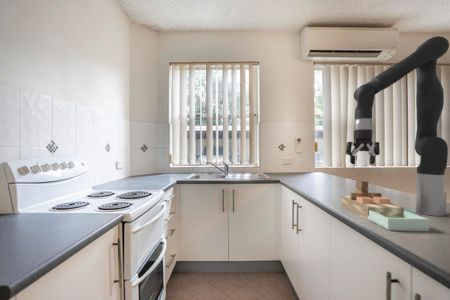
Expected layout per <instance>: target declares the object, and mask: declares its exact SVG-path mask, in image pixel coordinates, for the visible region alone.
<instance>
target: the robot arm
mask: <svg viewBox="0 0 450 300" xmlns="http://www.w3.org/2000/svg"><path fill="white" fill-rule="evenodd" d="M449 48H450V42H449V40H448V39H447V38H446V37H444V36H432V37H430V38H428V39H427V40H425V41H424V42H422V43H421V44H420V45H418V47H417V48H416V50H415V51H414V52H413V53H411V54H409V55H408V56H406V57H405V58H403V59H402V60H400V61H399V62H397V63H395V64H394V65H391V66H390V67H388V68H387V69H385V70H384V71H383V72H381V73H378V75H376V76H375V77H374V78H372V79H371V80H369V81H368V82H366V83H365V84H362V85H360V86H359V87H357V89H355V91H354V93H353V99H354V100H355V101H356V107H355V110H354V122H353V123H354V124H353V141H346V143H345V145H346V148H345V155H347V156H349V157H350V158H349V162H350V164H351V165H355V164H356V154H357V153H359V152H366V153H367V154H368V155H369V165H374V164H375V163H376V156H379V155H380V154H381V153H380V142H379V141H374V142H373V133H374V132H373V126H374V125H373V124H374V123H373V107H374V101H375V95H377V94H378V93H380V92H382V91H384V90H385V89H387V88H389V87H391V86H392V85H393V84H396V83H397V82H398V81H400V80H401V79H402V78H405V77H406V76H407V75H408V74H410V73H411V72H413V71H414V70H416V98H415V102H416V104H415V106H416V134H415V135H416V136H415V140H414V151H415V153H416V154H417V155H418V156H419V157H420V159H419V160H420V161H419V165H418V166H417V167H416V194H415V196H416V197H415V199H416V200H415V202H416V203H415V205H416V206H415V211H416V212H415V213H417V214H420V215H428V216H433V217H434V216H435V217H442V216H446V215H447V195H448V194H447V192H445V174H446V172H445V171H446V169H447V166H448V157H449V147H448V143H447V141H446V139H444V138H442V137H439V136H438V123H439V120H440V117H441V115H442V113H443V109H444V104H445V103H444V102H445V92H444V87H443V85H442V82H441V81H440V80H439V77H438V74H437V63H438V59H439V58H442V57H443V56H444V55H445V54H446V53H447V51H448V50H449ZM352 147H353V148H352ZM372 147H373V148H372Z"/></svg>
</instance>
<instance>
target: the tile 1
mask: <svg viewBox="0 0 450 300" xmlns="http://www.w3.org/2000/svg"><path fill="white" fill-rule="evenodd" d="M357 202H360V203H362V204H373V199H372V198H369V197H357Z"/></svg>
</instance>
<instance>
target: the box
mask: <svg viewBox="0 0 450 300" xmlns="http://www.w3.org/2000/svg"><path fill="white" fill-rule="evenodd" d="M367 221H369V222H371V223H373V224H375V225H377V226H379V227H381V228H383V229H384V230H387V231H397V232H398V231H400V232H401V231H404V232H405V231H407V232H408V231H409V232H429V231H430V219H429V218H427V217H424V216H423V215H422V216H419V215H416V214H413V213H410V212H408V211H405V210H404V211H403V217H396V216H383V215H381V214H378V213H376V212H374V211H372V210H369V216H368V220H367Z"/></svg>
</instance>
